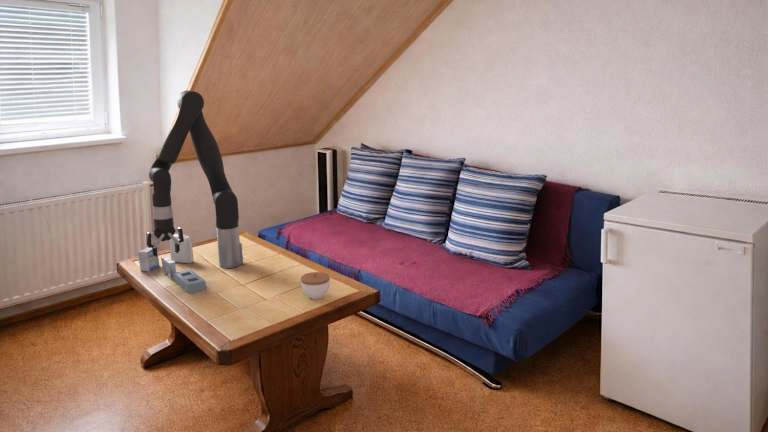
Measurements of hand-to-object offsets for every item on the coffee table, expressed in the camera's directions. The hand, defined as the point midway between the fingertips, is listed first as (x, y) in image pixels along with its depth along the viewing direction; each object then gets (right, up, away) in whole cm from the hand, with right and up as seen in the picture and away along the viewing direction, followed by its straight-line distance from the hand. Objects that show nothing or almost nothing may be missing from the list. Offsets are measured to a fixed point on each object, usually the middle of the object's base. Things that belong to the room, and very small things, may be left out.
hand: (166, 254), depth 257 cm
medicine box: (-11, -7, +11) cm, 17 cm away
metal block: (+1, -9, +2) cm, 9 cm away
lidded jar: (+63, -15, -20) cm, 68 cm away
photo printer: (+1, -4, +19) cm, 19 cm away
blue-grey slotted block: (+12, -12, -8) cm, 19 cm away
